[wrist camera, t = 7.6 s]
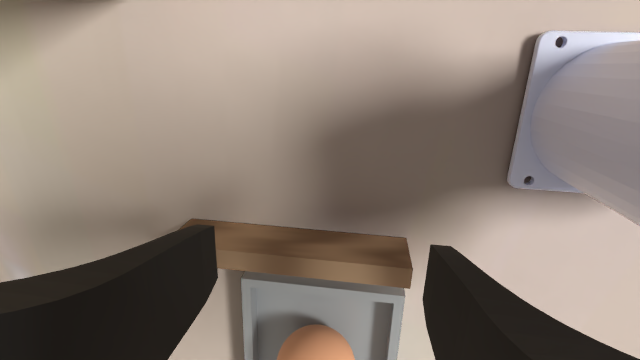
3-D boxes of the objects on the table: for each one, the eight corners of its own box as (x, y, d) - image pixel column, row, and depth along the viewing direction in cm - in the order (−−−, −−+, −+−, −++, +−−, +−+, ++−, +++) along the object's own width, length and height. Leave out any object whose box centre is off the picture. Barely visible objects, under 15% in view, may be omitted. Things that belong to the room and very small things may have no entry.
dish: (402, 280, 22) (405, 296, 21) (387, 399, 26) (389, 421, 24) (249, 264, 24) (240, 278, 22) (253, 379, 27) (246, 399, 25)
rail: (406, 238, 22) (412, 269, 18) (404, 255, 22) (410, 288, 19) (191, 218, 23) (162, 243, 20) (193, 234, 24) (164, 262, 20)
